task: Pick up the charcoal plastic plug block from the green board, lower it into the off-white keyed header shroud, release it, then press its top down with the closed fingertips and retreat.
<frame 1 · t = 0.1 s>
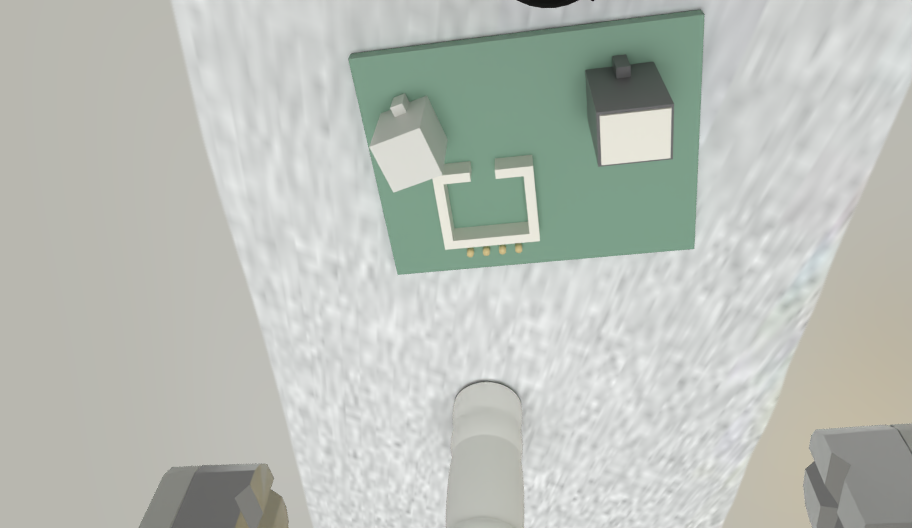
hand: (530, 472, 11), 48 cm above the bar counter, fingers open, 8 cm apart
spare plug: (414, 126, 59), point 1 cm above the bar counter, touching board
board: (532, 153, 61), on the bar counter
water bottle: (487, 402, 77), on the bar counter
plug: (619, 91, 56), point 1 cm above the bar counter, touching board
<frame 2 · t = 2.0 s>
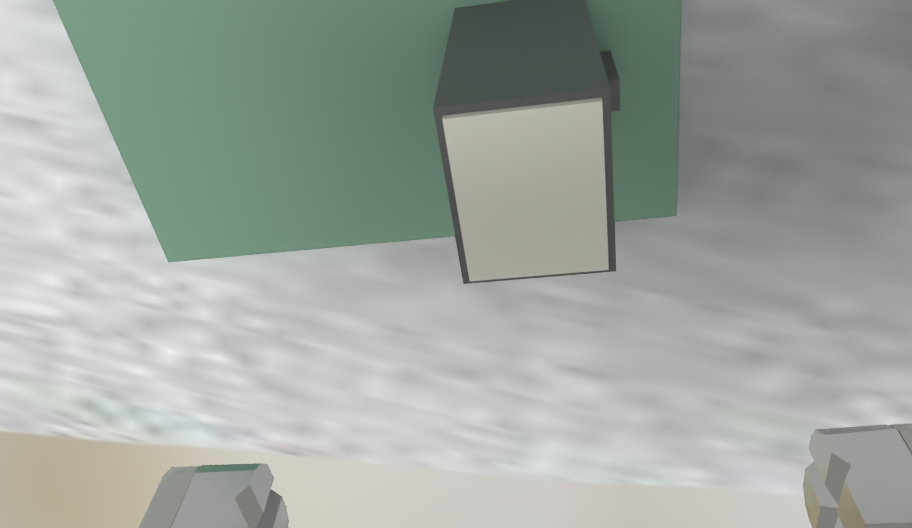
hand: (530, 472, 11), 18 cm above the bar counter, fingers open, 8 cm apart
plug: (525, 75, 25), point 1 cm above the bar counter, touching board
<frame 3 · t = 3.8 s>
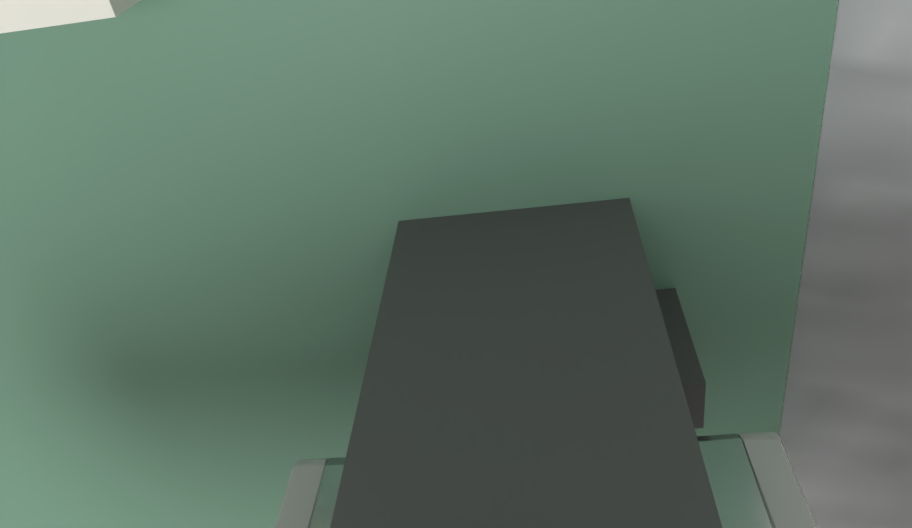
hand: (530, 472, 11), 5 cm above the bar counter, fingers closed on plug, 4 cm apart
plug: (525, 321, 14), point 1 cm above the bar counter, touching board, gripper
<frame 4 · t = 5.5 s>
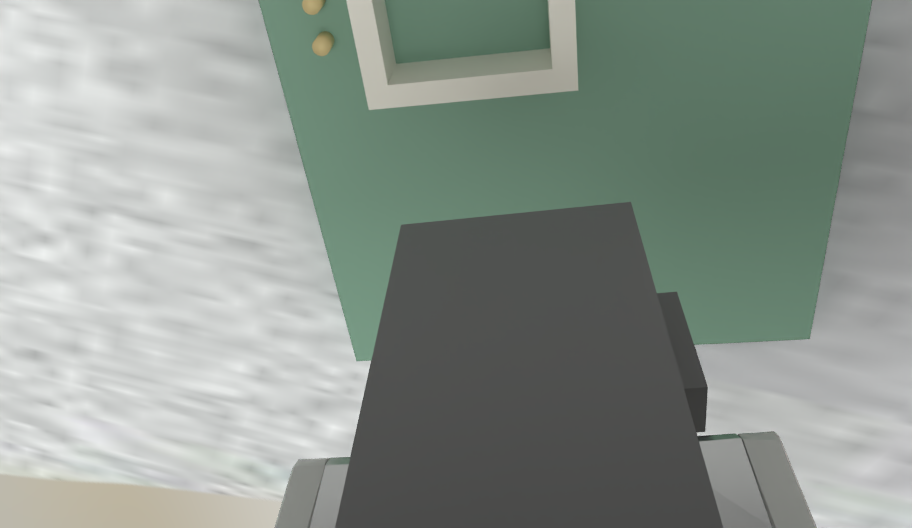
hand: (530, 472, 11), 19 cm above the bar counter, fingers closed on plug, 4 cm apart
board: (558, 58, 27), on the bar counter
plug: (527, 324, 14), point 15 cm above the bar counter, touching gripper
when the fingers open (6 cm above the bar counter, at t = 7.6 s): plug stays where it is, resting on board.
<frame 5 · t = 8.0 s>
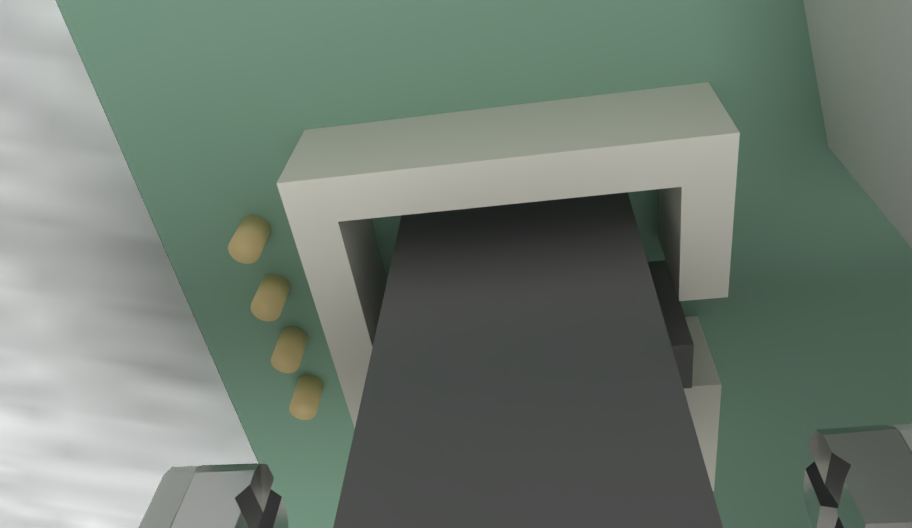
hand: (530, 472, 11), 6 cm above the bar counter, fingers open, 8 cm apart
board: (661, 383, 18), on the bar counter
plug: (525, 293, 15), point 1 cm above the bar counter, touching board
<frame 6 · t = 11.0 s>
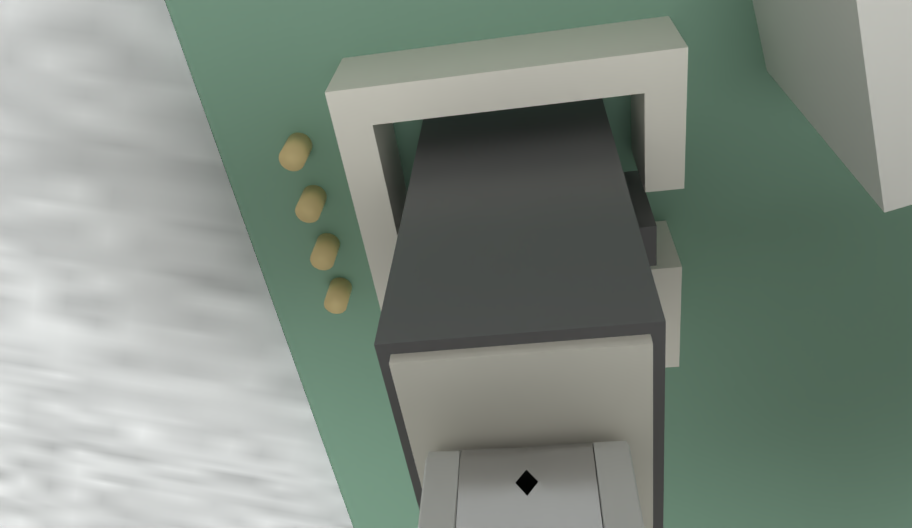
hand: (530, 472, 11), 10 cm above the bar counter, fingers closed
board: (638, 290, 21), on the bar counter
plug: (522, 200, 18), point 1 cm above the bar counter, touching board
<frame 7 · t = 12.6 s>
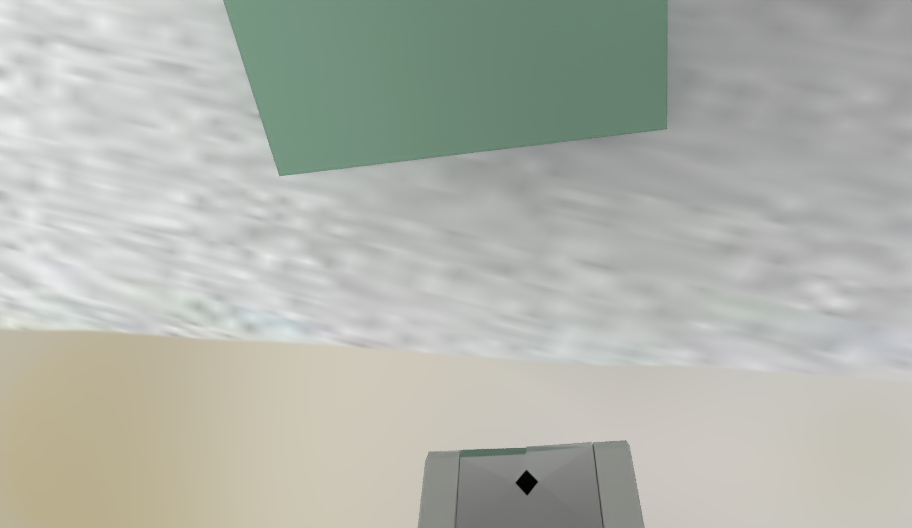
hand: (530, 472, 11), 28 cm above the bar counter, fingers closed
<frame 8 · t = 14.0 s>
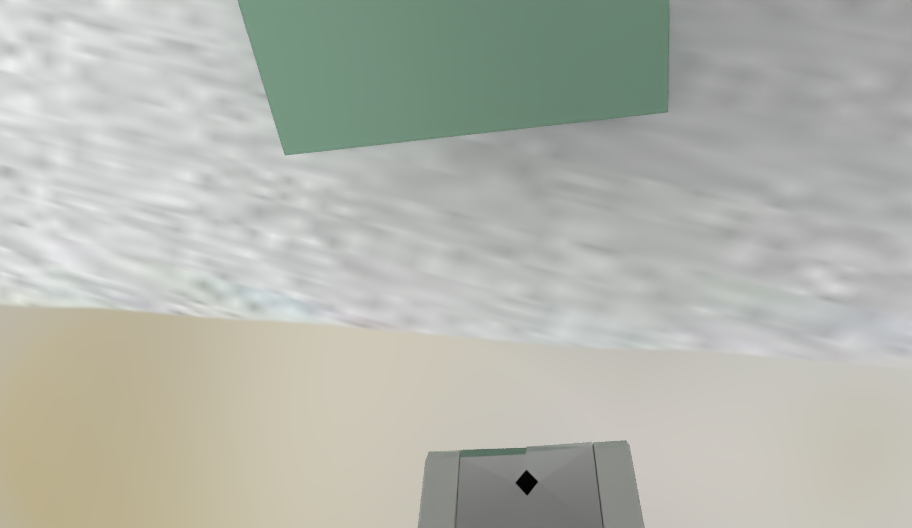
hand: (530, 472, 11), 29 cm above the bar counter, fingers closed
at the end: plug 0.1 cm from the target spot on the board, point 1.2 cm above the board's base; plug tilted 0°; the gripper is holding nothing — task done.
